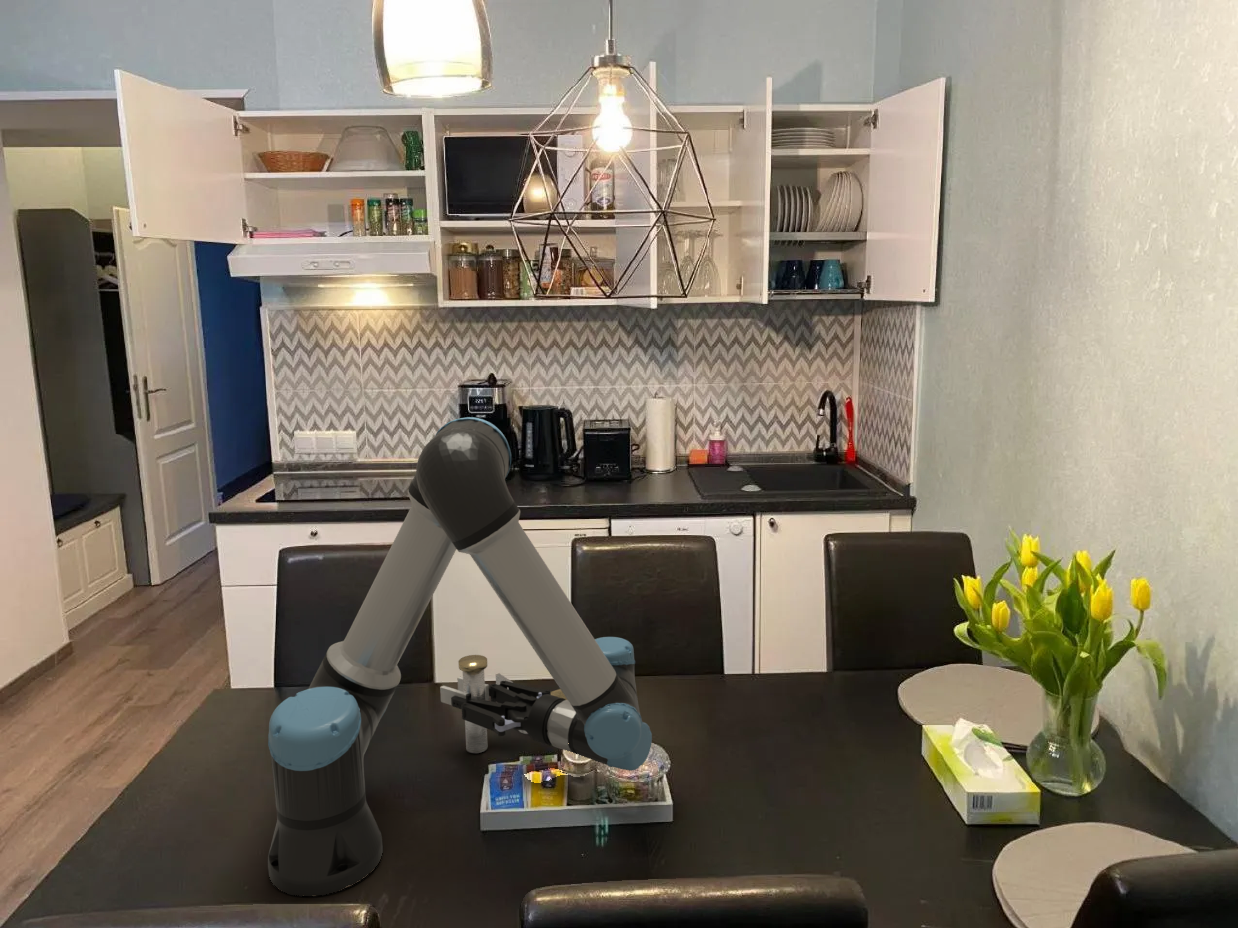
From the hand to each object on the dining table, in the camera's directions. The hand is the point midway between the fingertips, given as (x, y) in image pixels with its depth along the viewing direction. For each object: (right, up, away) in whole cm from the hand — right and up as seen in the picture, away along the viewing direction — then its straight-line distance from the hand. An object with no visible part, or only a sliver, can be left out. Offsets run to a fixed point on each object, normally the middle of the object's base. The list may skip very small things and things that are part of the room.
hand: (450, 688), depth 155 cm
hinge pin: (+5, -10, -1) cm, 11 cm away
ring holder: (+14, -8, +11) cm, 19 cm away
